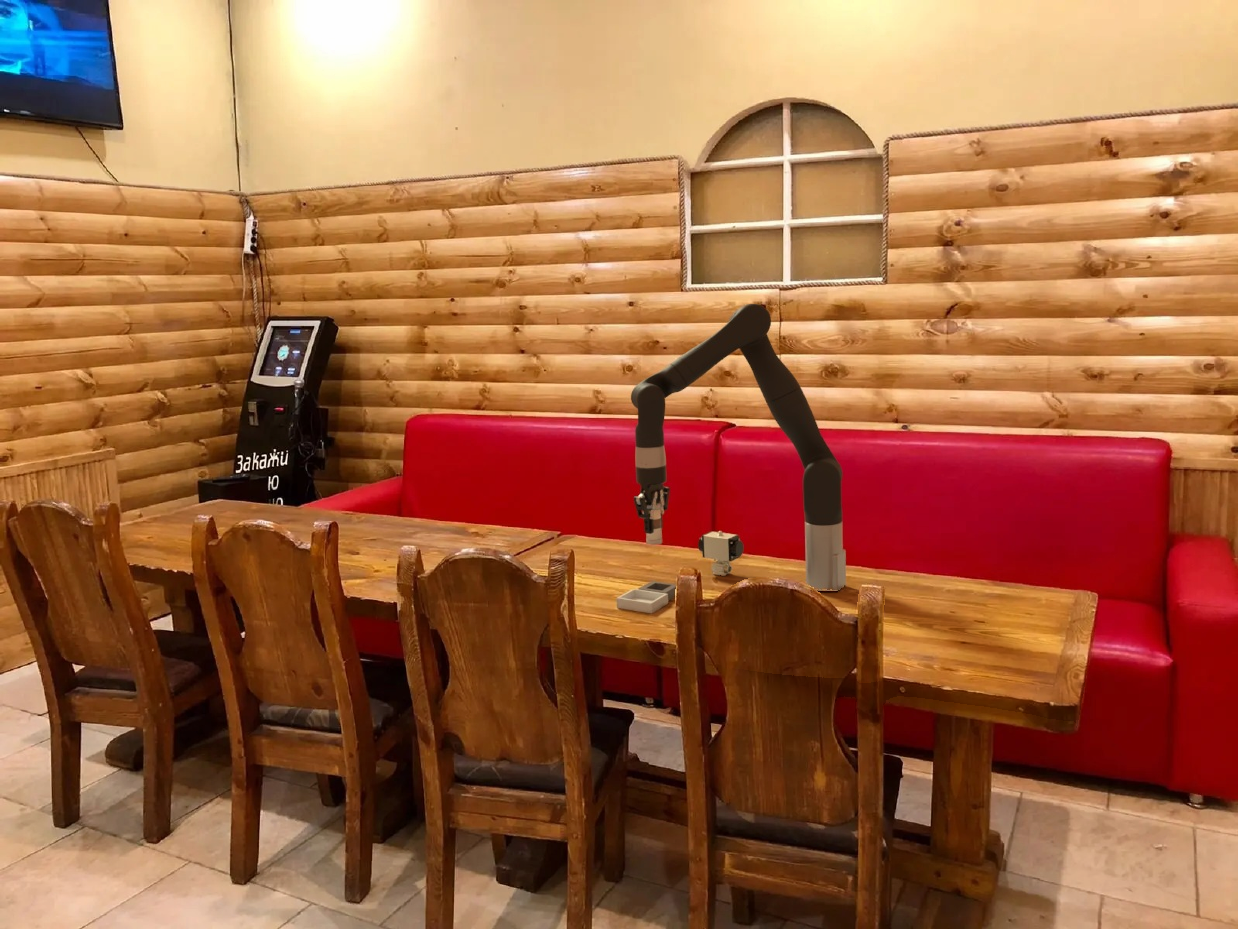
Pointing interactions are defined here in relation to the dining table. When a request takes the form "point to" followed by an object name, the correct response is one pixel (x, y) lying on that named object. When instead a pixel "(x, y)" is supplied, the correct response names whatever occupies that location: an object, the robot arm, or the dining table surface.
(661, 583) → the dark gray recessed holder
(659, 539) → the fuse
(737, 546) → the pneumatic valve
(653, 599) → the tray
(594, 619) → the dining table surface
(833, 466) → the robot arm
